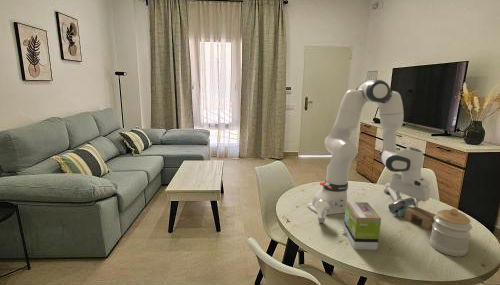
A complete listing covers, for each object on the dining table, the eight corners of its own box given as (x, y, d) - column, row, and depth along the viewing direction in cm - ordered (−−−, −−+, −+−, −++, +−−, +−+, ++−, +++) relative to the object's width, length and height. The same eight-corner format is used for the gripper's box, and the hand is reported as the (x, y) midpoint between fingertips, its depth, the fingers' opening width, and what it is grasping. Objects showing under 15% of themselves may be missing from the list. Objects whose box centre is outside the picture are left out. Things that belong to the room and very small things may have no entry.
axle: (394, 213, 144) (396, 206, 143) (387, 209, 147) (389, 202, 146) (414, 206, 151) (415, 199, 150) (407, 202, 154) (408, 196, 153)
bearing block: (427, 230, 131) (429, 219, 130) (404, 219, 141) (405, 209, 140) (438, 226, 135) (439, 216, 133) (414, 216, 145) (415, 206, 144)
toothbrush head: (397, 201, 154) (383, 180, 177) (395, 211, 156) (381, 189, 179) (407, 202, 153) (392, 180, 176) (405, 212, 155) (390, 190, 178)
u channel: (400, 216, 144) (401, 211, 144) (389, 211, 150) (389, 206, 149) (412, 212, 149) (413, 207, 148) (401, 207, 154) (402, 203, 154)
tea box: (342, 230, 129) (345, 201, 126) (364, 231, 129) (368, 201, 126) (353, 249, 115) (356, 216, 112) (378, 250, 114) (382, 217, 111)
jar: (453, 260, 109) (462, 218, 105) (422, 243, 121) (428, 205, 117) (473, 253, 114) (482, 213, 110) (441, 236, 126) (448, 200, 122)
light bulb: (320, 227, 132) (322, 204, 129) (310, 221, 138) (312, 198, 135) (331, 224, 135) (333, 201, 132) (321, 218, 141) (323, 195, 138)
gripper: (389, 173, 155) (385, 196, 158) (425, 185, 137) (421, 211, 140) (396, 171, 158) (393, 194, 161) (433, 183, 140) (429, 209, 143)
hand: (406, 202), depth 150 cm, fingers open, 8 cm apart
